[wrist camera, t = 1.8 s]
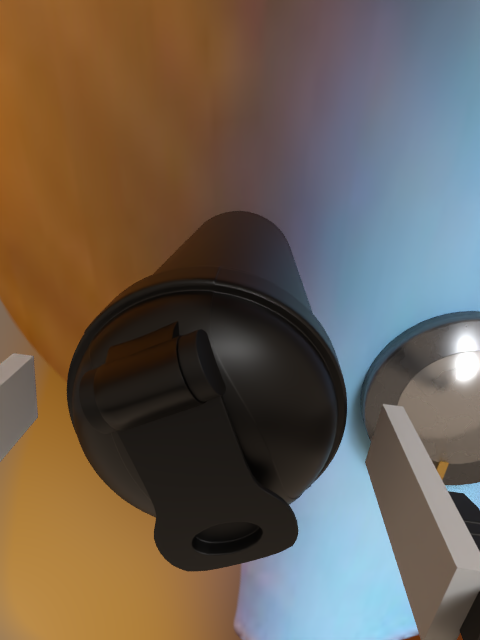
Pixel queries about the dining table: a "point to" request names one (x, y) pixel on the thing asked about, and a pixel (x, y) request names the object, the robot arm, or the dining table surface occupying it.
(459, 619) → the robot arm
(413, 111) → the dining table surface
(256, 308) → the water bottle
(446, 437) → the grey plate
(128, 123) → the dining table surface
